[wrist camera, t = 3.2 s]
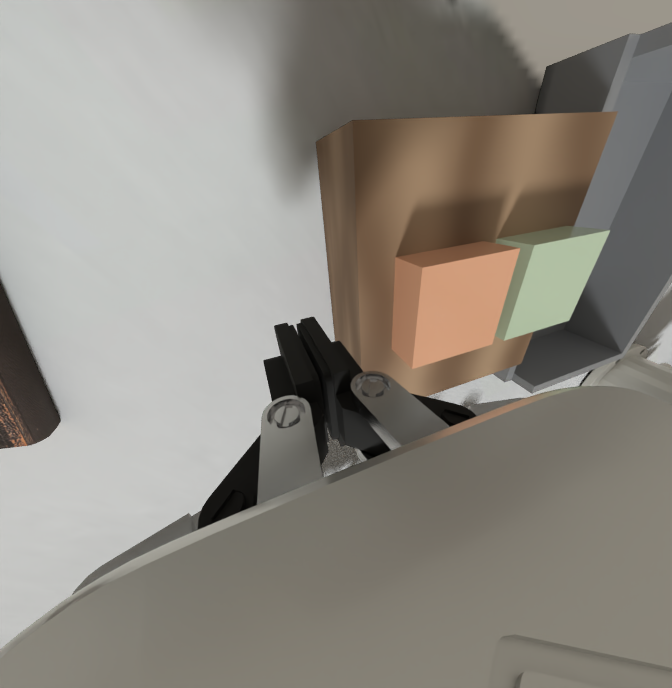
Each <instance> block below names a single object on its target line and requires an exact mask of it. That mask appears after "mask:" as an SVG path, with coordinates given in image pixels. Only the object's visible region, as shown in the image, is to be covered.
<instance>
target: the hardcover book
mask: <svg viewBox="0 0 672 688" xmlns="http://www.w3.org/2000/svg"><path fill="white" fill-rule="evenodd" d="M59 423H60V419H59V416H58V414H57V412H56V409H55V407H54V405H53V403H52V400H51V398H50V396H49V394H48V391H47V389H46V387H45V384H44V382H43V380H42V378H41V375H40V373H39V371H38V368H37V366H36V364H35V362H34V359H33V357H32V355H31V353H30V350H29V348H28V346H27V343H26V341H25V339H24V337H23V334H22V332H21V330H20V328H19V325H18V323H17V321H16V318H15V316H14V314H13V312H12V309H11V307H10V305H9V302H8V300H7V298H6V296H5V293H4V291H3V289H2V287H1V284H0V449H3V448H11V447H20V446H28V445H32V444H35V443H37V442H40V441H42V440H44V439H46V438H47V437H49V436H50V435H51V434H52V433H53V431H54V430H55V429H56V428H57V426H58V425H59Z"/></svg>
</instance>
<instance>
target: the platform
mask: <svg viewBox="0 0 672 688" xmlns="http://www.w3.org/2000/svg"><path fill="white" fill-rule="evenodd" d="M617 113H618V111H615V112H585V113H555V114H525V115H495V116H466V117H436V118H406V119H376V120H352V121H351V122H349V123H347V124H345V125H344V126H342V127H340V128H339V129H337V130H335V131H334V132H332V133H330V134H328V135H327V136H325V137H323V138H322V139H320V140H318V141H317V142H316V149H317V159H318V169H319V180H320V190H321V200H322V211H323V221H324V231H325V241H326V252H327V262H328V272H329V283H330V293H331V303H332V314H333V324H334V334H335V341H340V342H341V343H342V344H343V345H344V346H345V348H346V349H347V350H348V352H349V353H350V354H351V356H352V357H353V358H354V360H355V361H356V362H357V364H358V365H359V366H360V368H361V369H362V370H363V372H366V371H379V372H382V373H385V374H387V375H389V376H390V377H391V378H393V379H394V380H395V381H396V382H397V383H399V384H400V385H401V386H402V387H403V388H405V389H406V390H407V391H408V392H409V393H411V394H416V395H420V396H424V397H426V396H429V395H432V394H435V393H438V392H441V391H444V390H446V389H449V388H452V387H455V386H458V385H461V384H464V383H467V382H470V381H472V380H475V379H478V378H481V377H484V376H487V375H490V374H493V373H496V372H499V371H501V370H504V369H507V368H510V367H513V366H516V365H519V364H521V363H522V360H523V358H524V355H525V353H526V350H527V347H528V345H529V342H530V340H531V337H532V334H533V332H531V333H527V334H524V335H521V336H518V337H514V338H511V339H508V340H505V341H504V340H502V339H500V338H498V337H496V336H495V337H494V340H493V343H492V345H489V346H485V347H482V348H479V349H476V350H472V351H469V352H466V353H463V354H460V355H456V356H453V357H450V358H447V359H443V360H440V361H437V362H434V363H430V364H427V365H424V366H421V367H418V368H414V369H412V368H411V367H409V366H408V365H407V364H406V363H405V362H404V361H403V360H402V359H401V358H400V357H399V356H398V355H397V354H396V353H395V352H394V351H393V350H392V326H393V303H394V279H395V257H399V256H405V255H410V254H416V253H421V252H426V251H432V250H437V249H443V248H448V247H454V246H459V245H465V244H470V243H476V242H481V241H486V242H491V243H496V239H498V238H503V237H508V236H514V235H519V234H525V233H530V232H536V231H541V230H547V229H552V228H558V227H563V226H574V225H575V222H576V220H577V217H578V215H579V212H580V209H581V207H582V204H583V202H584V199H585V196H586V194H587V191H588V189H589V186H590V183H591V181H592V178H593V176H594V173H595V170H596V168H597V165H598V163H599V160H600V157H601V155H602V152H603V150H604V147H605V144H606V142H607V139H608V137H609V134H610V131H611V129H612V126H613V123H614V121H615V118H616V116H617Z"/></svg>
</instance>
